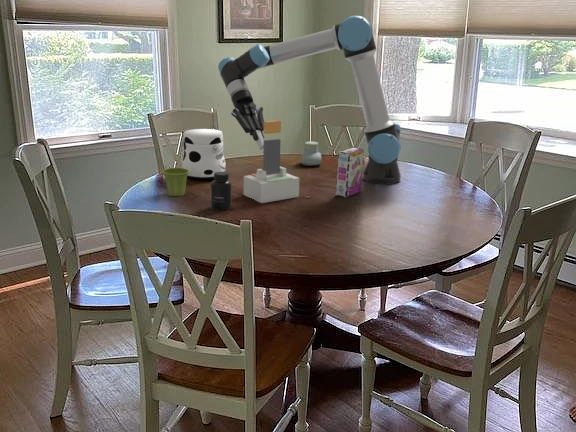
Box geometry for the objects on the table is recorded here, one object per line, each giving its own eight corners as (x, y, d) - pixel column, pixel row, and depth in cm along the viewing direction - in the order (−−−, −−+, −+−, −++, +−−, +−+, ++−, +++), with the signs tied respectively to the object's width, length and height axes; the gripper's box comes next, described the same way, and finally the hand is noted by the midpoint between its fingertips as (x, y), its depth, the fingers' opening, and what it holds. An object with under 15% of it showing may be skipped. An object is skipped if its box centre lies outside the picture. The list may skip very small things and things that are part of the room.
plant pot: (194, 192, 216) (194, 169, 213) (179, 199, 208) (179, 175, 205) (173, 189, 220) (172, 166, 217) (157, 195, 212) (156, 171, 209)
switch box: (243, 194, 215) (243, 167, 212) (280, 188, 224) (280, 163, 221) (261, 203, 206) (261, 175, 203) (298, 196, 214) (299, 169, 211)
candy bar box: (347, 198, 214) (349, 153, 209) (335, 195, 217) (337, 151, 212) (361, 191, 223) (364, 148, 218) (350, 189, 226) (352, 147, 221)
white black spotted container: (233, 178, 237) (233, 133, 231) (193, 184, 228) (192, 137, 222) (213, 169, 251) (212, 127, 245) (175, 174, 241) (173, 130, 236)
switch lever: (262, 175, 211) (263, 121, 205) (277, 173, 215) (278, 120, 209) (265, 176, 210) (266, 122, 204) (280, 174, 213) (281, 121, 208)
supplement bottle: (215, 211, 195) (214, 176, 192) (208, 206, 201) (207, 171, 197) (234, 209, 198) (234, 174, 195) (227, 203, 204) (226, 170, 200)
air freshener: (299, 162, 268) (300, 140, 265) (318, 162, 269) (318, 140, 266) (303, 167, 258) (303, 145, 255) (321, 167, 259) (322, 145, 256)
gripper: (251, 100, 228) (274, 151, 220) (221, 102, 221) (243, 154, 213) (258, 87, 222) (282, 139, 214) (228, 89, 215) (251, 142, 207)
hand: (263, 147), depth 214 cm, fingers closed
